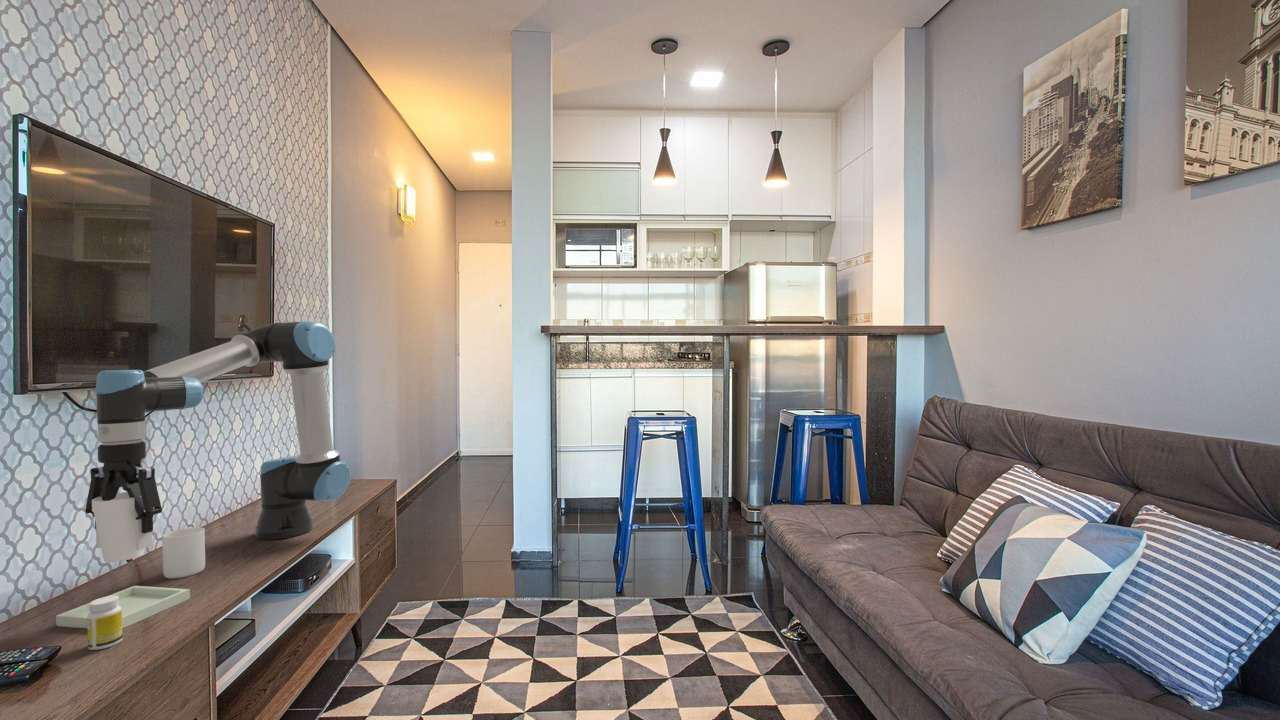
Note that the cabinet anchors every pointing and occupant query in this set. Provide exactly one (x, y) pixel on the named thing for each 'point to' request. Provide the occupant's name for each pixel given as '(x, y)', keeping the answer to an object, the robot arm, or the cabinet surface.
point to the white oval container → (183, 552)
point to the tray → (130, 605)
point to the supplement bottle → (104, 623)
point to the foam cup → (116, 527)
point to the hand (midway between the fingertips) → (124, 546)
